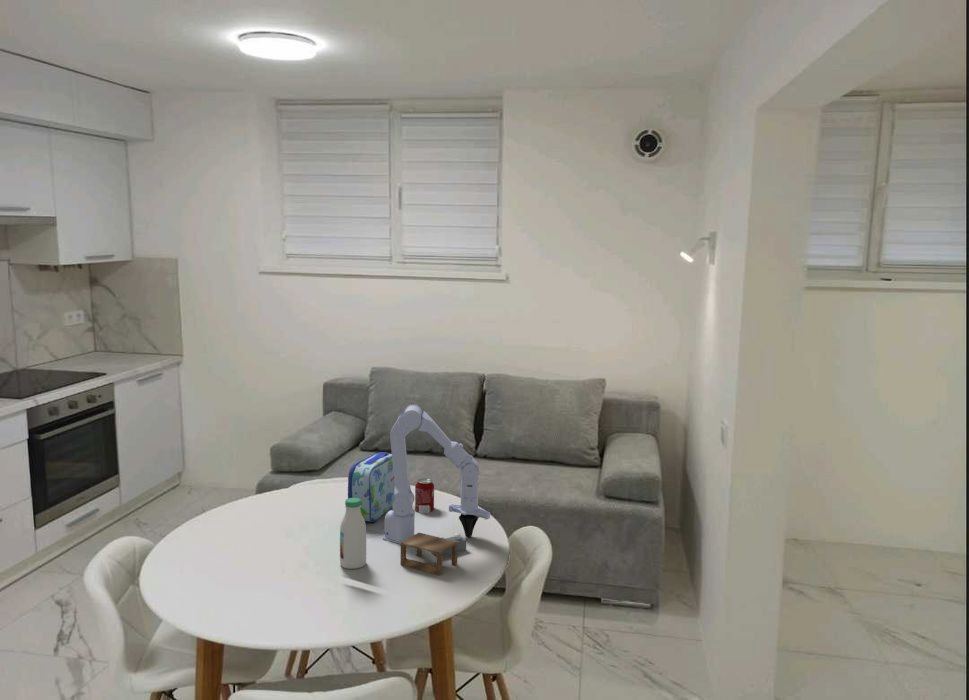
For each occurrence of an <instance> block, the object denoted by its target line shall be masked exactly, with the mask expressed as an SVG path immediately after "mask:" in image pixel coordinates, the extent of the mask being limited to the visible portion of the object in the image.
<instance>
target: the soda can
mask: <svg viewBox="0 0 969 700" xmlns="http://www.w3.org/2000/svg"><path fill="white" fill-rule="evenodd" d="M414 491H415V493H414V511H415V512H417V513H419V514H427V513H429V514H430V513H432V512H434V510H435V484H434V483H433V479H431V478H419V479H417V481H416V483H415V485H414Z"/></svg>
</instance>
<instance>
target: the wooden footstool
mask: <svg viewBox="0 0 969 700" xmlns="http://www.w3.org/2000/svg"><path fill="white" fill-rule="evenodd" d="M407 547H410V548H414V549H416V556H417V557H421V556H422V555H423V551H425V552H428V553H431V552H432V553H436V554H437V557H436V556H435V557H436V561H435V563H436V565H432V564H429V563H426V562H421V561H418V560H414V559H411V558H407ZM451 547H452V555H451V566H456V565H458V553H457V542H456V541H452V540H448V539H443V538H439V537H438V536H435V535H430V534H425V533H423V532H417V533H414V535H413V536H412V537H410V538H408V539H406V540H404V541H402V542H401V544H400V566H403V567H404V566H405V567H408V568H412V569H416V570H420V571H422V572H426V573H430V574H433V575H434V574H435V575H437V576H438V577H439V576H441V575H443V557H442V553H443V552H445V551H446V550H448V549H450V548H451ZM432 553H431V554H432Z"/></svg>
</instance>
